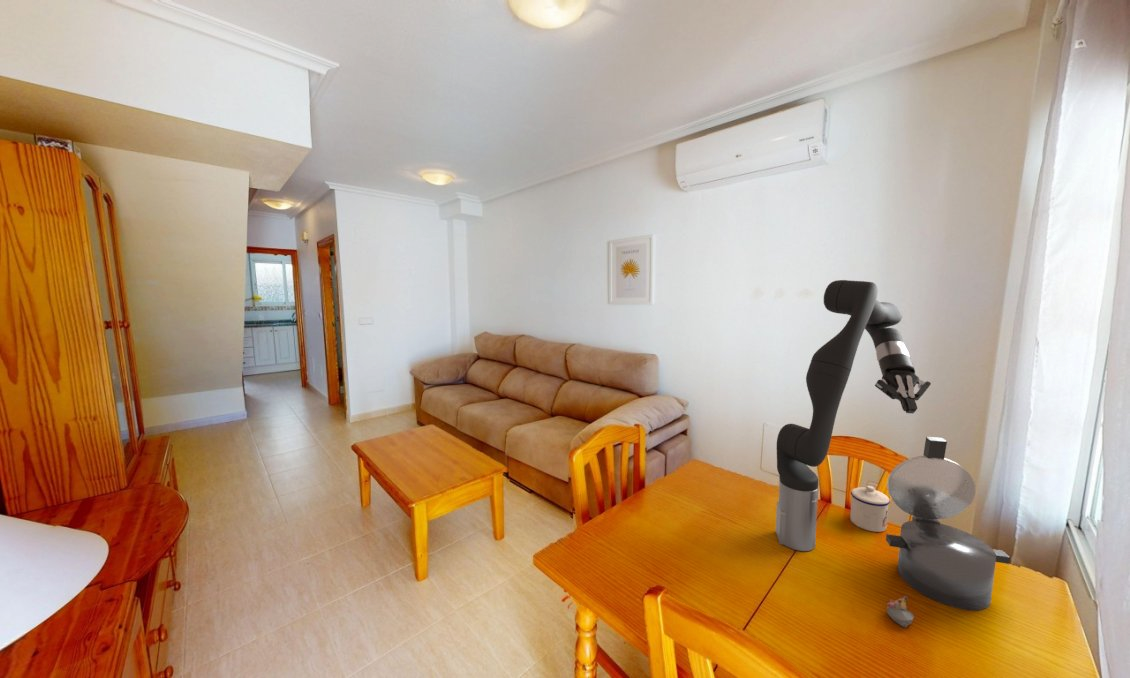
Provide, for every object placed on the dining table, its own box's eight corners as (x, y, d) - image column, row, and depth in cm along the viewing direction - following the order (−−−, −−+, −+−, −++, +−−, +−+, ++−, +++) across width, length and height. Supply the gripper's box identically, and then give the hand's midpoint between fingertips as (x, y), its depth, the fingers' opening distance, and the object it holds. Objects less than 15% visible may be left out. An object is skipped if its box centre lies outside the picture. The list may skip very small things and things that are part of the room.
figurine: (909, 633, 81) (911, 604, 81) (882, 619, 84) (884, 592, 84) (916, 623, 84) (918, 595, 84) (890, 610, 88) (892, 584, 87)
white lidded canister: (891, 536, 111) (894, 497, 110) (852, 528, 115) (855, 491, 114) (880, 513, 122) (882, 478, 120) (844, 507, 126) (846, 473, 124)
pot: (900, 598, 90) (904, 553, 88) (870, 549, 106) (873, 511, 105) (1028, 621, 83) (1035, 573, 81) (975, 565, 99) (979, 524, 98)
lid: (885, 513, 103) (881, 507, 106) (969, 524, 98) (962, 517, 100) (895, 437, 98) (890, 433, 101) (984, 444, 93) (977, 439, 95)
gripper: (871, 352, 117) (887, 404, 107) (927, 353, 113) (948, 407, 103) (863, 366, 123) (877, 416, 113) (915, 367, 118) (935, 420, 108)
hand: (911, 412), depth 108 cm, fingers closed
